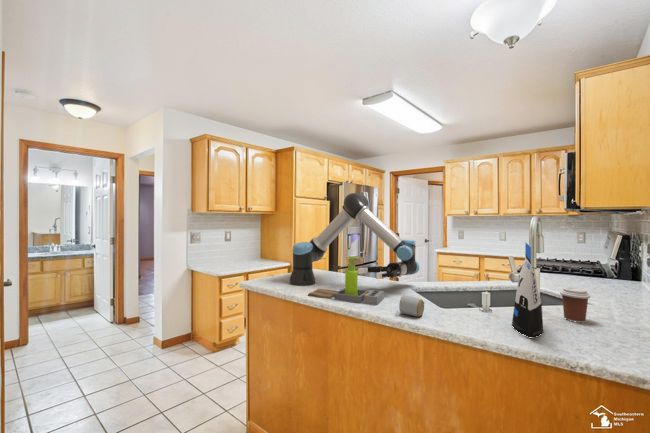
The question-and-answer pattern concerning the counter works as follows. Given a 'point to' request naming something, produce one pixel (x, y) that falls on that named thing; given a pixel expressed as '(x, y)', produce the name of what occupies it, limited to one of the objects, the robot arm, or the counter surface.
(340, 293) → the tray
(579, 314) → the coffee cup
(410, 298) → the ceramic mug
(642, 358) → the counter surface
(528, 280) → the protein powder
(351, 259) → the soap dispenser
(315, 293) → the walnut pad
